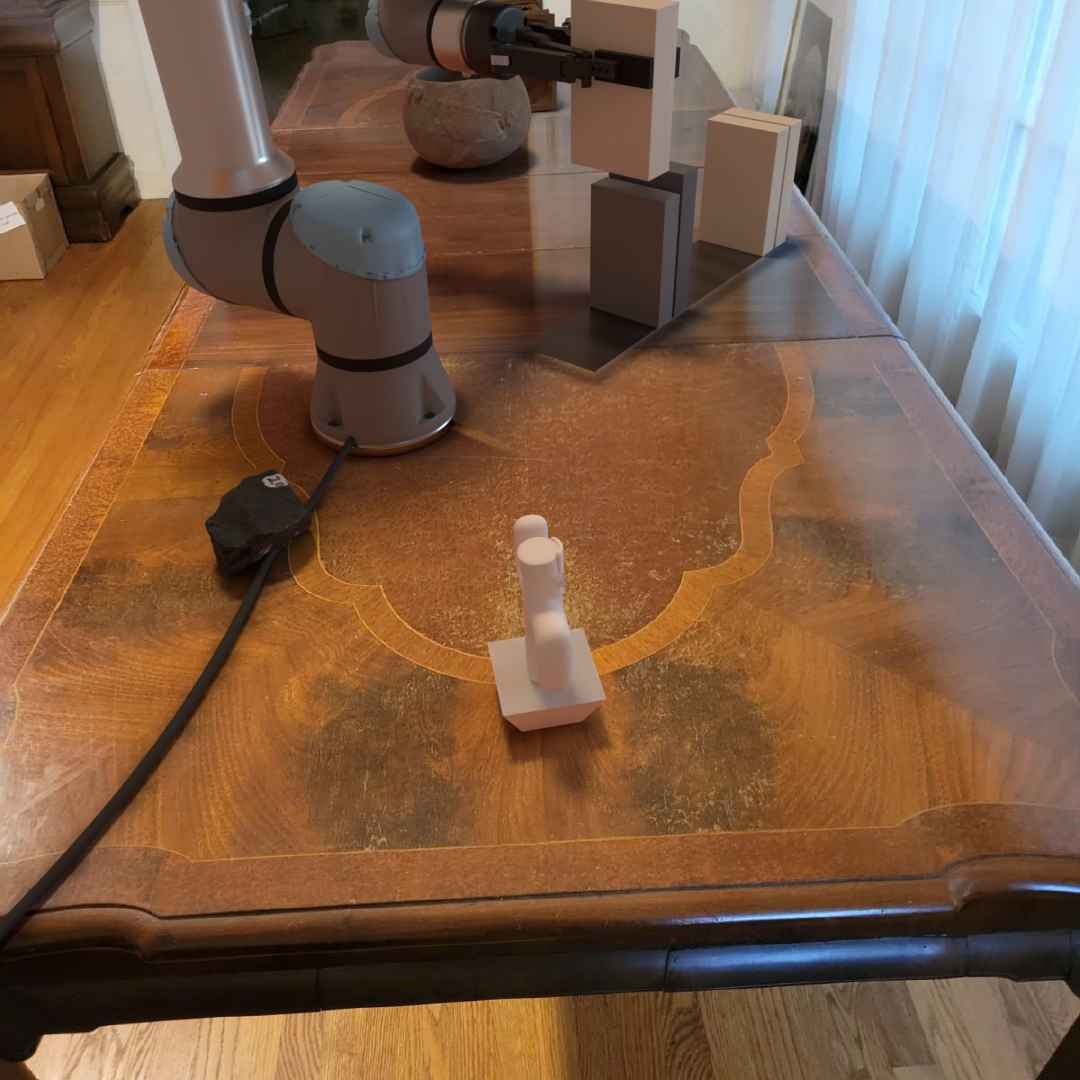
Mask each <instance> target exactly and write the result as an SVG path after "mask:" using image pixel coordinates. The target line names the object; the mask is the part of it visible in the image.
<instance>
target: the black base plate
mask: <svg viewBox="0 0 1080 1080" xmlns="http://www.w3.org/2000/svg"><path fill="white" fill-rule="evenodd" d="M788 240H790V238H789V237H786V239H785V242H787V241H788ZM785 242H783V243H782V244H784V243H785ZM782 244H780V245H779V246H781V245H782ZM779 246H777V247H776V248H773V250H771V251H770V252H768V253H767V254H766V255H768V254H769V253H771V252H773V251H774V250H775V249H777V248H778V247H779ZM766 255H764V256H758V255H755V254H751V253H747V252H743V251H739V250H735V249H732V248H728V247H724V246H720V245H716V244H712V243H708V242H705V241H701V240H696V241H694V242H692V252H691V265H690V278H689V291H688V304H687V309H686V310H688V309H690V308H692V306H694V305H695V304H697V303H699V302H700V301H701V300H702V299H704V298H705V297H707V296H708V295H710V294H711V293H713V292H714V291H716V290H718V289H719V288H720V287H721V286H723V285H724V284H726V283H727V282H729V281H730V280H731V279H733V278H734V277H736V276H737V275H739V274H740V273H742V272H743V271H745V270H746V269H748V268H750V266H752V265H753V264H755V263H756V262H758V261H759V260H761V259H762V258H764V257H765V256H766ZM686 310H684V311H683V312H685V311H686ZM683 312H681V313H680V314H678V315H677V316H675V317H672V319H671V320H669V321H668V322H667V323H669V322H670V321H672V320H673V319H675V318H677V317H678V316H679V315H681V314H682V313H683ZM667 323H665V324H664V325H667ZM664 325H662V326H661V327H663V326H664ZM661 327H659V328H656V327H652V326H649V325H646V324H643V323H640V322H637V321H634V320H631V319H627V318H624V317H621V316H618V315H615V314H612V313H609V312H605V311H602V310H599V309H596V308H593V307H590V306H589V307H587V308H586V309H584V310H583V311H580V312H579V313H577V314H576V315H573V317H570V318H569V319H568V320H566V321H564V322H562V323H561V324H559V325H558V326H556V327H554V328H553V329H551V330H550V331H548V332H547V333H545V334H543V335H542V336H540V337H538V338H537V339H535V340H533V341H532V342H530V343H529V344H527V345H525V346H524V348H525V349H529V350H532V351H535V352H536V353H539V354H543V355H545V356H548V357H551V358H554V359H556V360H559V361H562V362H565V363H567V364H570V365H573V366H575V367H579V368H582V369H584V370H587V371H590V372H593V373H596V372H597V371H600V370H601V369H602V368H603V367H605V366H606V365H608V364H609V363H611V362H612V361H614V360H616V358H618V357H619V356H621V355H622V354H625V352H627V351H628V350H630V349H631V348H632V347H634V346H635V345H637V344H638V343H640V342H642V341H643V340H644V339H646V338H647V337H649V336H650V335H651V334H653V333H655V332H656V331H657V330H659V329H660V328H661Z"/></svg>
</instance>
